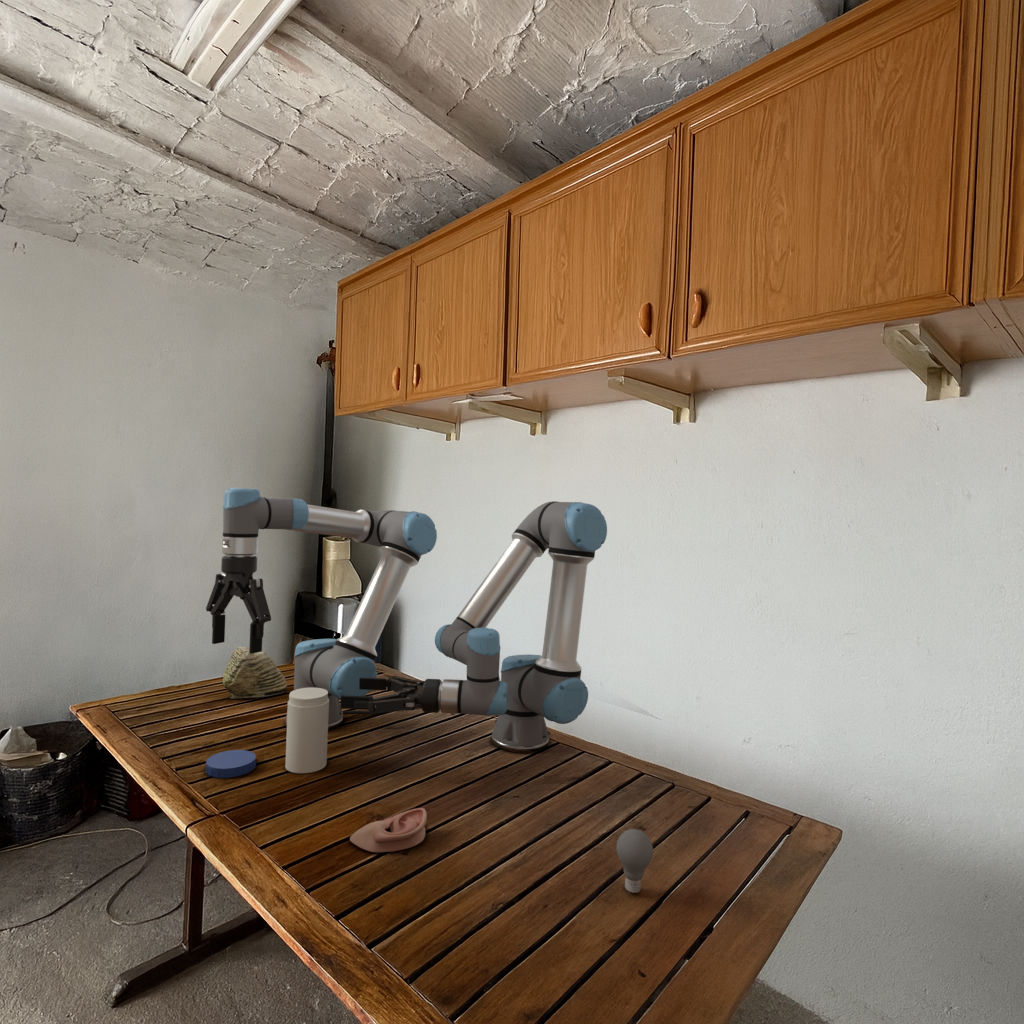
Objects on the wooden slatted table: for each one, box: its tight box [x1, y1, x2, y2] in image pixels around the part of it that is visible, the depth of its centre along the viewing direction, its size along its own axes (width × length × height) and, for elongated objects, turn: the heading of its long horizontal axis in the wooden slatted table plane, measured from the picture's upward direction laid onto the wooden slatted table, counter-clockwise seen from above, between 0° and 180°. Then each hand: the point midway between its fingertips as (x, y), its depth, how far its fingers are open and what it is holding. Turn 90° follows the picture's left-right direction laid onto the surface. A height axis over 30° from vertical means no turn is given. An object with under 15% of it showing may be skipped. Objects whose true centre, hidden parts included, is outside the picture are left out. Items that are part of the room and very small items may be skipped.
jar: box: [284, 688, 329, 774], centre depth 149 cm, size 9×9×17 cm
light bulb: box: [615, 828, 654, 894], centre depth 106 cm, size 6×6×10 cm
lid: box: [205, 749, 257, 779], centre depth 146 cm, size 11×11×2 cm
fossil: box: [222, 646, 288, 699], centre depth 198 cm, size 9×18×15 cm, turn 132°
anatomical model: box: [349, 807, 428, 853], centre depth 119 cm, size 13×4×12 cm
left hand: (236, 647), depth 145 cm, fingers open, 13 cm apart
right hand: (350, 692), depth 148 cm, fingers open, 13 cm apart
